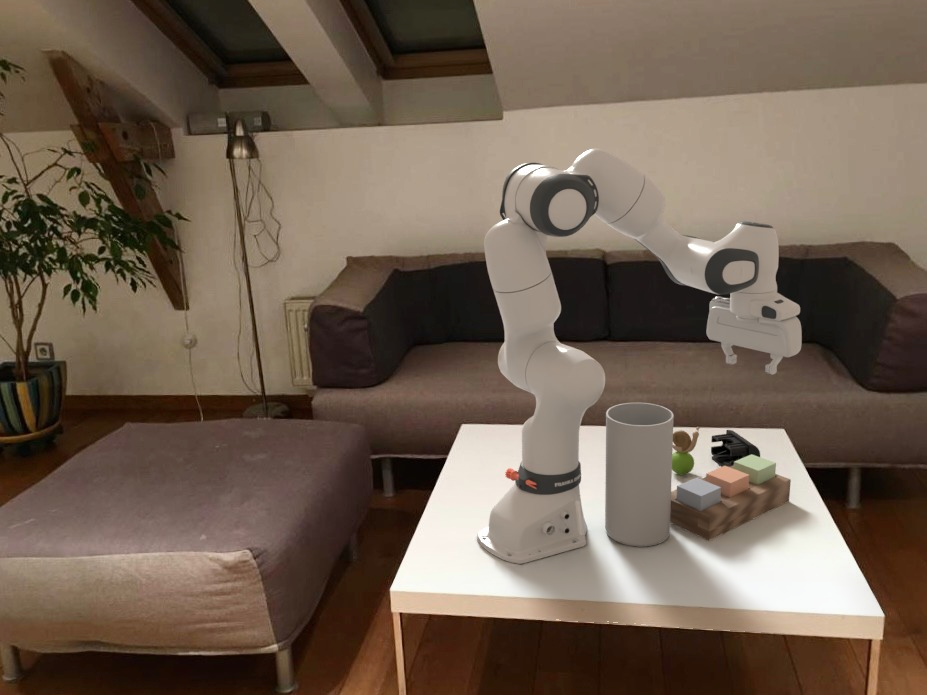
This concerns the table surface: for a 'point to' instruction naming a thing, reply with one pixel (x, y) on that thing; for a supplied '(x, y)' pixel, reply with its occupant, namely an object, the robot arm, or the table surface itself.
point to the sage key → (756, 468)
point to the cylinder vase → (638, 473)
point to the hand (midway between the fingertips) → (750, 368)
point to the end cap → (731, 448)
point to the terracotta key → (729, 480)
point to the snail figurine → (683, 451)
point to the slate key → (698, 494)
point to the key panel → (730, 508)
